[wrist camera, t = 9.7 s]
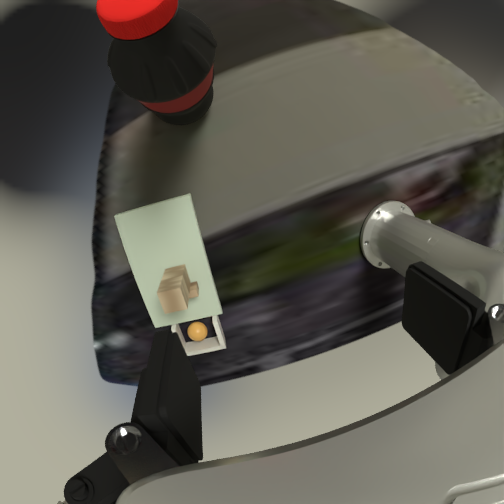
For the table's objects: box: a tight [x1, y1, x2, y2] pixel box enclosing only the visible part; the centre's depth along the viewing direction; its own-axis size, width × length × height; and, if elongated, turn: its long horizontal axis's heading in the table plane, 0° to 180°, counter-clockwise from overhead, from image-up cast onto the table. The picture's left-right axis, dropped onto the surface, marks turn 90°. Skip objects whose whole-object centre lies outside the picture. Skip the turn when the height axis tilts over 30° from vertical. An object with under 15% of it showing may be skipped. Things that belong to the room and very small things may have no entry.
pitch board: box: [114, 193, 223, 328], centre depth 43 cm, size 12×20×1 cm, turn 11°
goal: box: [171, 315, 226, 356], centre depth 47 cm, size 8×6×3 cm
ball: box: [188, 322, 207, 341], centre depth 46 cm, size 3×3×3 cm
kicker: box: [157, 264, 199, 314], centre depth 39 cm, size 5×4×8 cm
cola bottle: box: [96, 0, 217, 125], centre depth 21 cm, size 8×8×30 cm
